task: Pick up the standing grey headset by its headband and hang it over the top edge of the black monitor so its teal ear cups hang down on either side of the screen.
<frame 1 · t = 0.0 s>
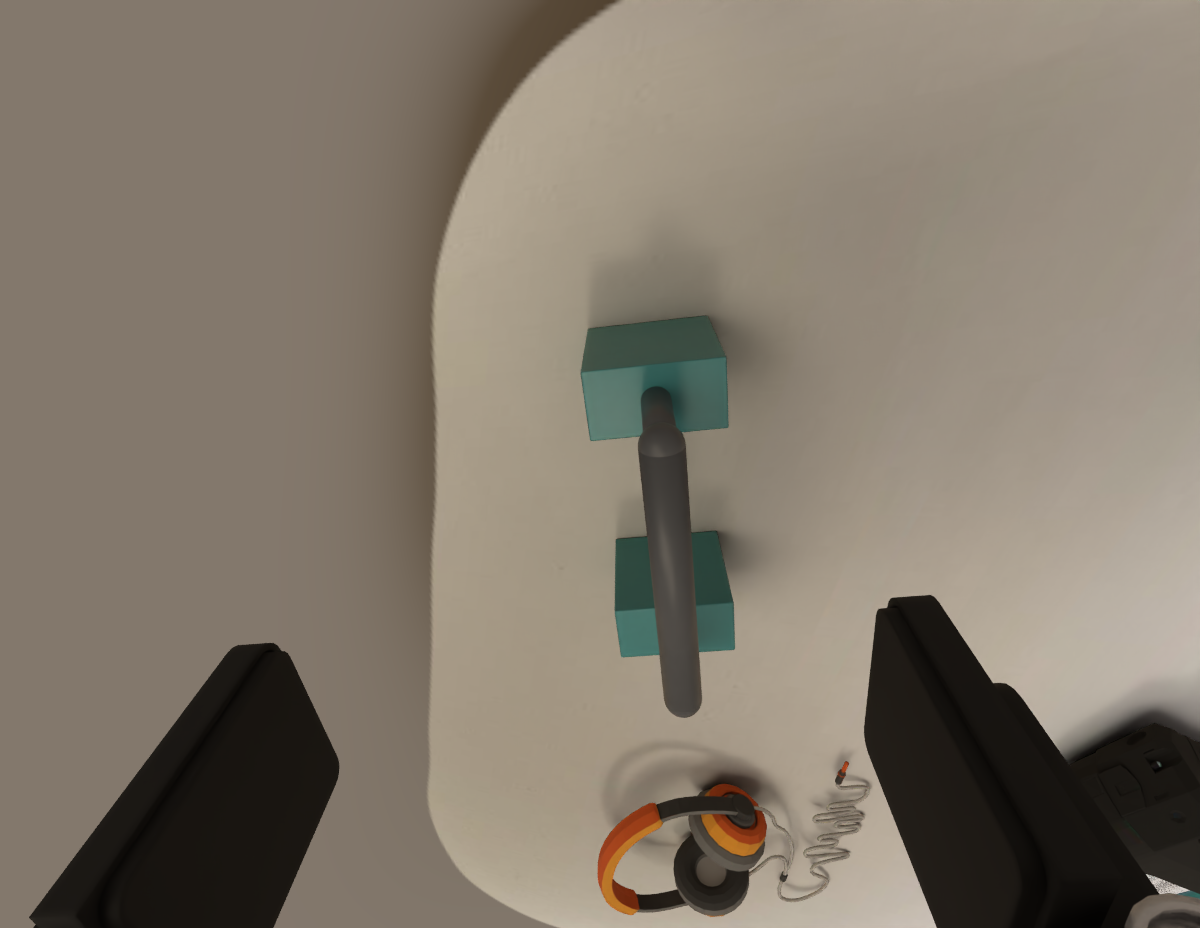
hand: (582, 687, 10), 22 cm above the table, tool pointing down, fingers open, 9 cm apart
virtual reality headset: (1111, 814, 45), on the table
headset: (659, 463, 33), on the table
headphones: (731, 814, 47), on the table
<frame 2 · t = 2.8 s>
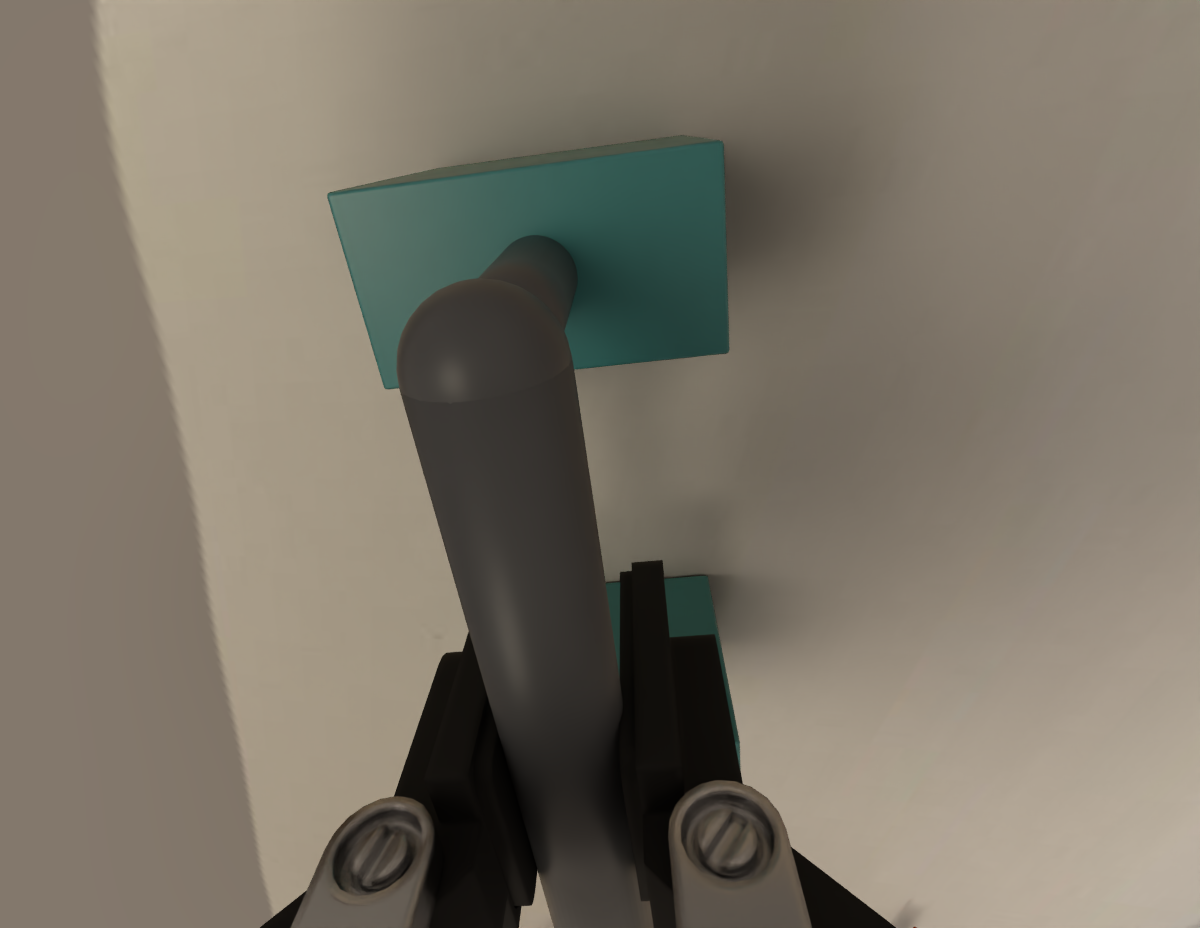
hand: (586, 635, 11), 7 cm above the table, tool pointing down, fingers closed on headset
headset: (598, 452, 17), on the table, touching gripper
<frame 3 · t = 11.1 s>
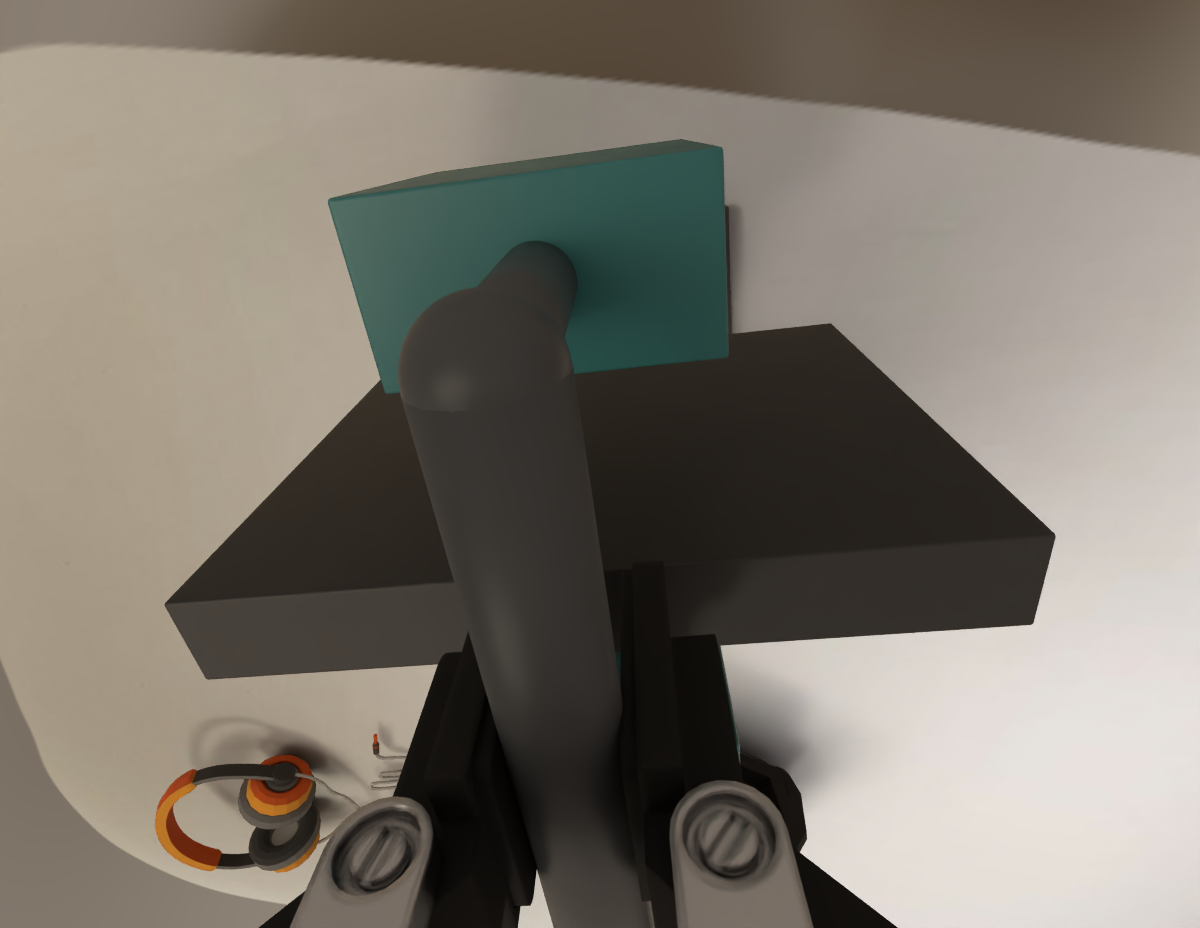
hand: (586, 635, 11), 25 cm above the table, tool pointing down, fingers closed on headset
virtual reality headset: (640, 783, 51), on the table
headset: (598, 454, 17), point 17 cm above the table, touching gripper
headphones: (315, 783, 53), on the table
monitor: (611, 301, 33), on the table
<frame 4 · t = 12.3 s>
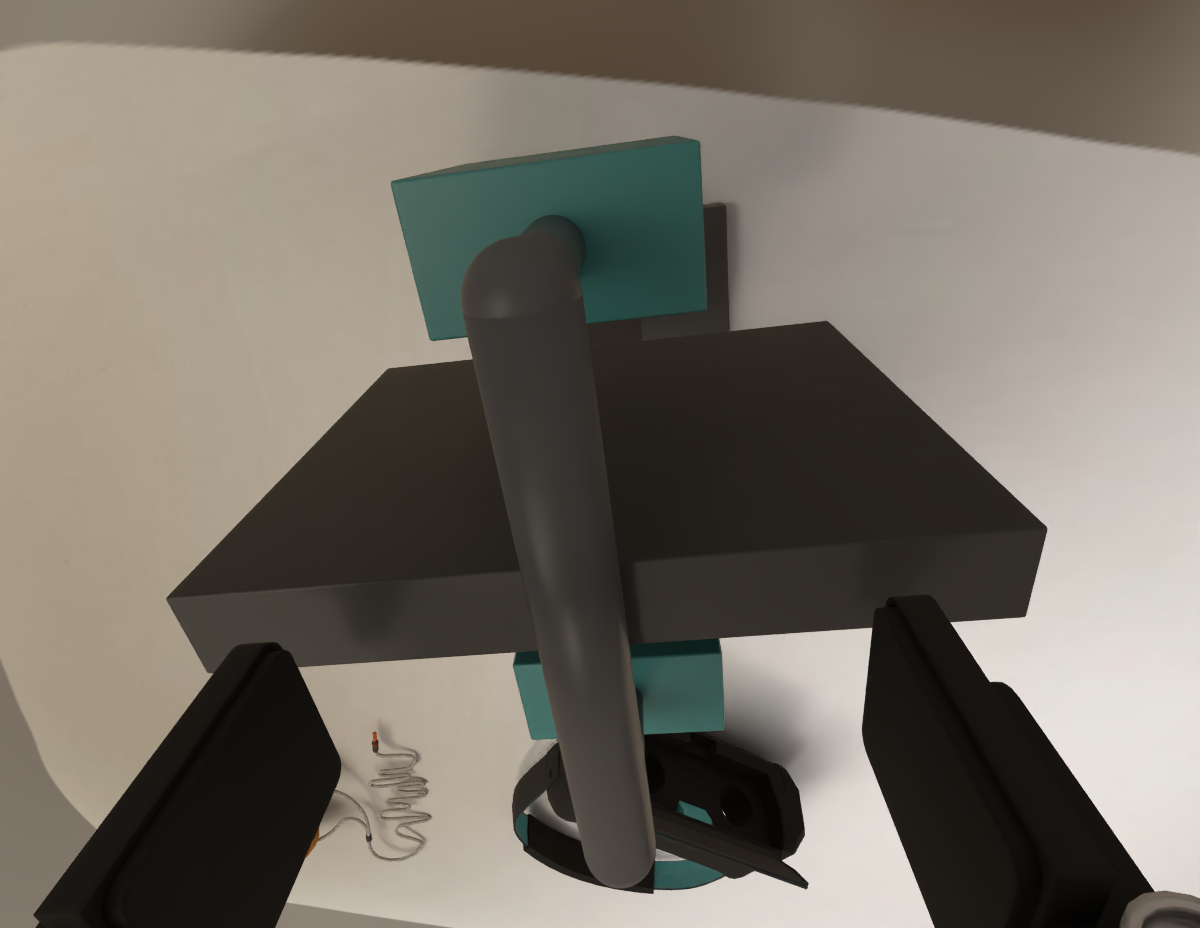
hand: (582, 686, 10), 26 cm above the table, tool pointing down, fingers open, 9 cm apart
virtual reality headset: (639, 780, 51), on the table
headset: (603, 413, 20), point 15 cm above the table, touching monitor
headphones: (314, 781, 53), on the table
monitor: (609, 299, 33), on the table
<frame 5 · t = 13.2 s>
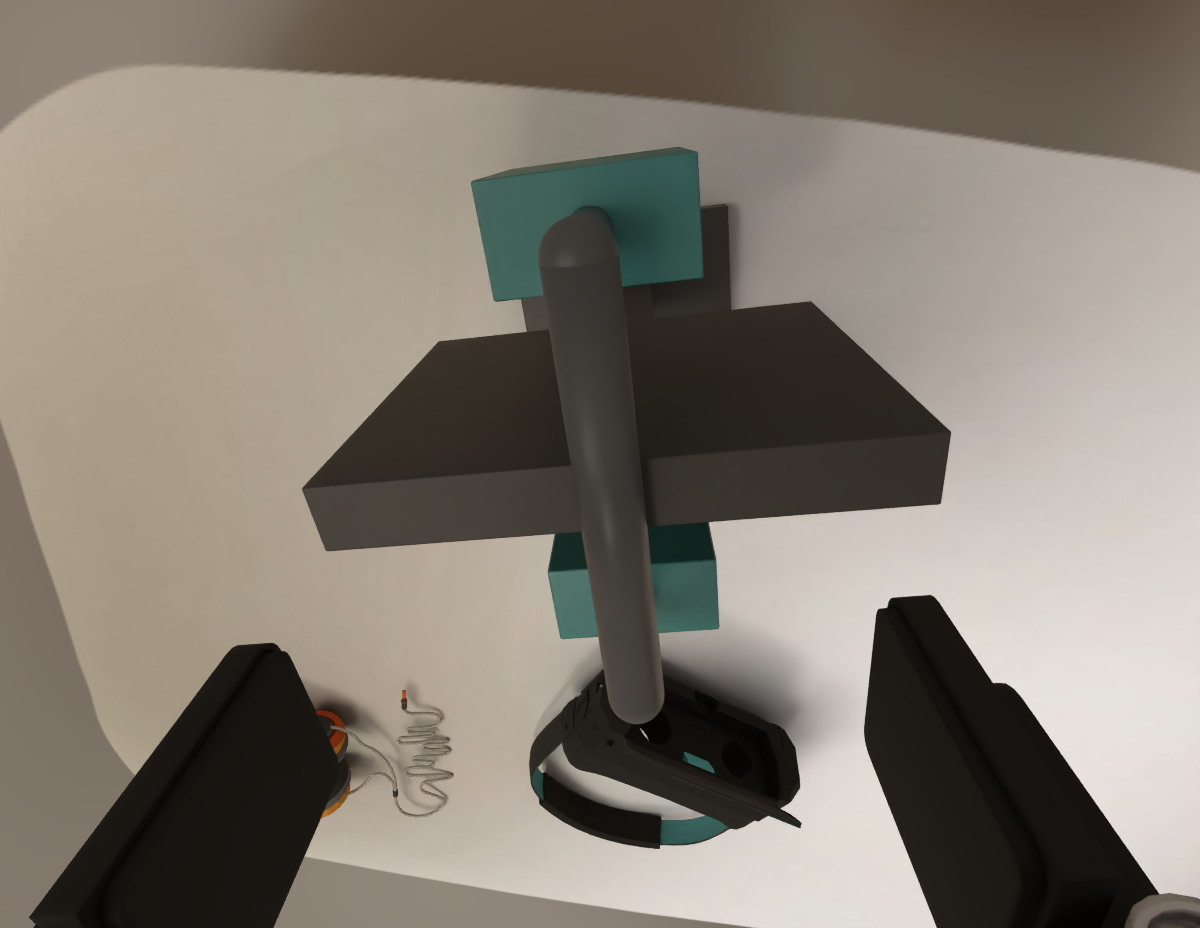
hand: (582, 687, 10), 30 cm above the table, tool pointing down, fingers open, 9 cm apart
virtual reality headset: (647, 741, 55), on the table
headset: (618, 375, 24), point 15 cm above the table, touching monitor
headphones: (346, 739, 57), on the table
monitor: (624, 289, 37), on the table
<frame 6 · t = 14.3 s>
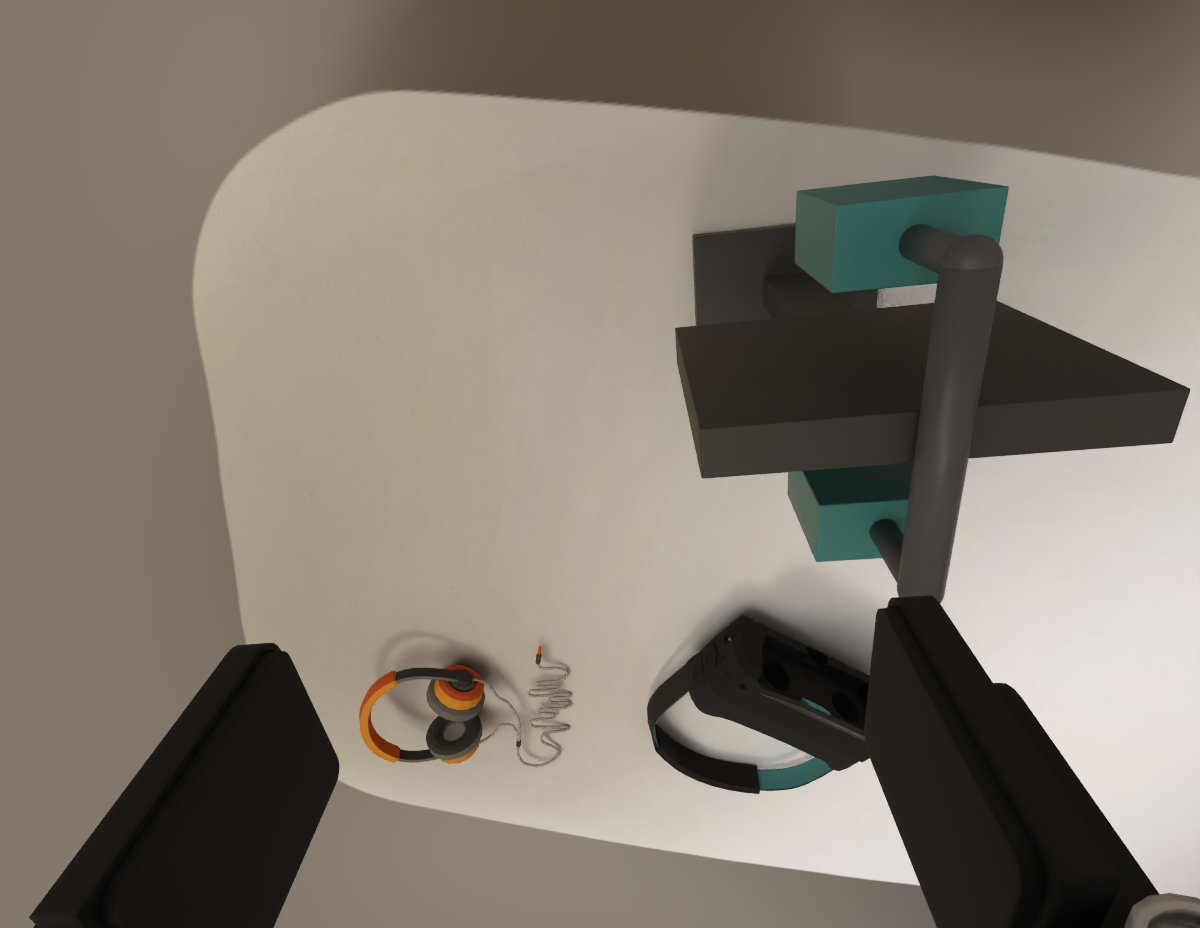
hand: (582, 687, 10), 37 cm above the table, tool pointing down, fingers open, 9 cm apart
virtual reality headset: (752, 695, 61), on the table
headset: (851, 354, 30), point 15 cm above the table, touching monitor
headphones: (476, 693, 63), on the table
monitor: (783, 286, 43), on the table
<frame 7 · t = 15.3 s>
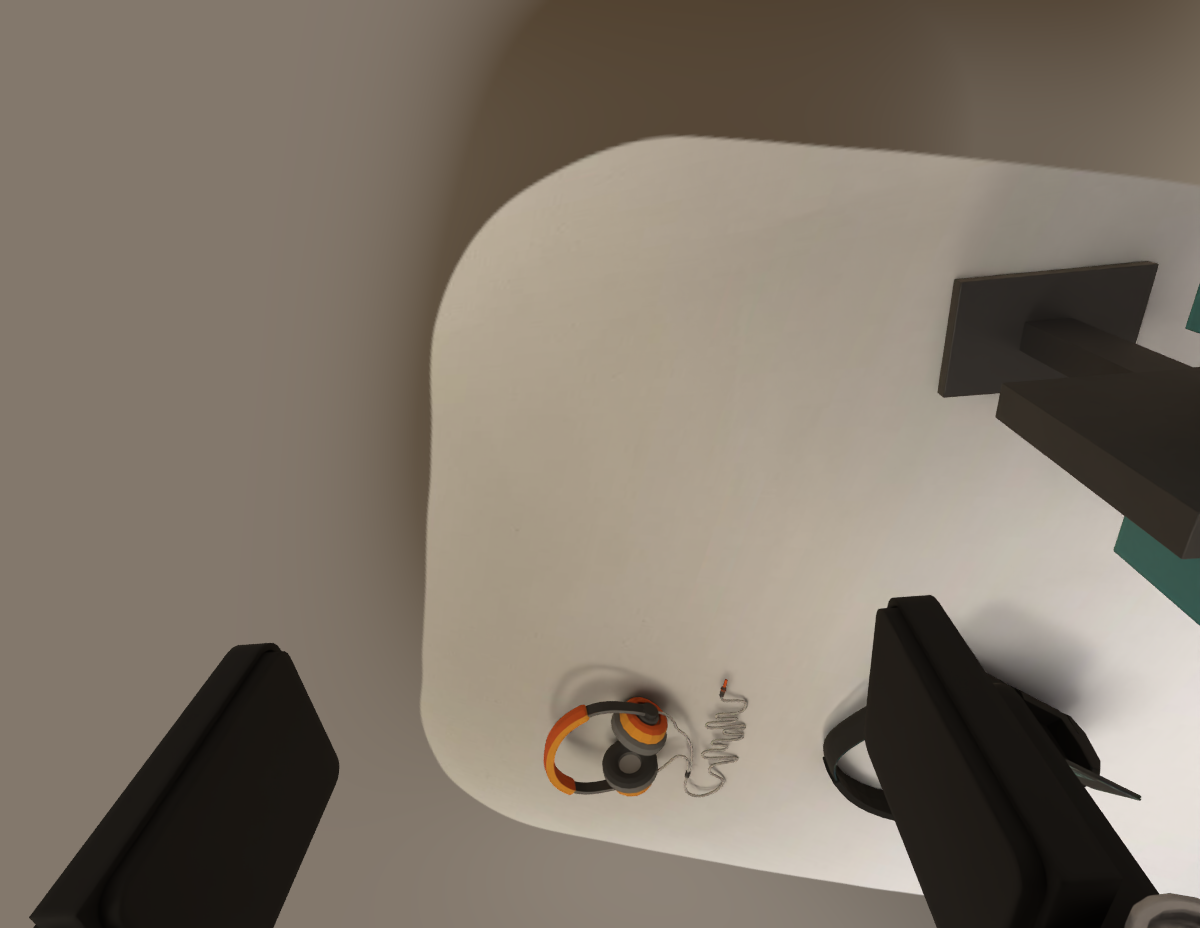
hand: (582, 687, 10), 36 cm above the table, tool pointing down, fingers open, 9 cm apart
virtual reality headset: (928, 727, 61), on the table
headphones: (647, 724, 62), on the table
monitor: (1036, 330, 43), on the table
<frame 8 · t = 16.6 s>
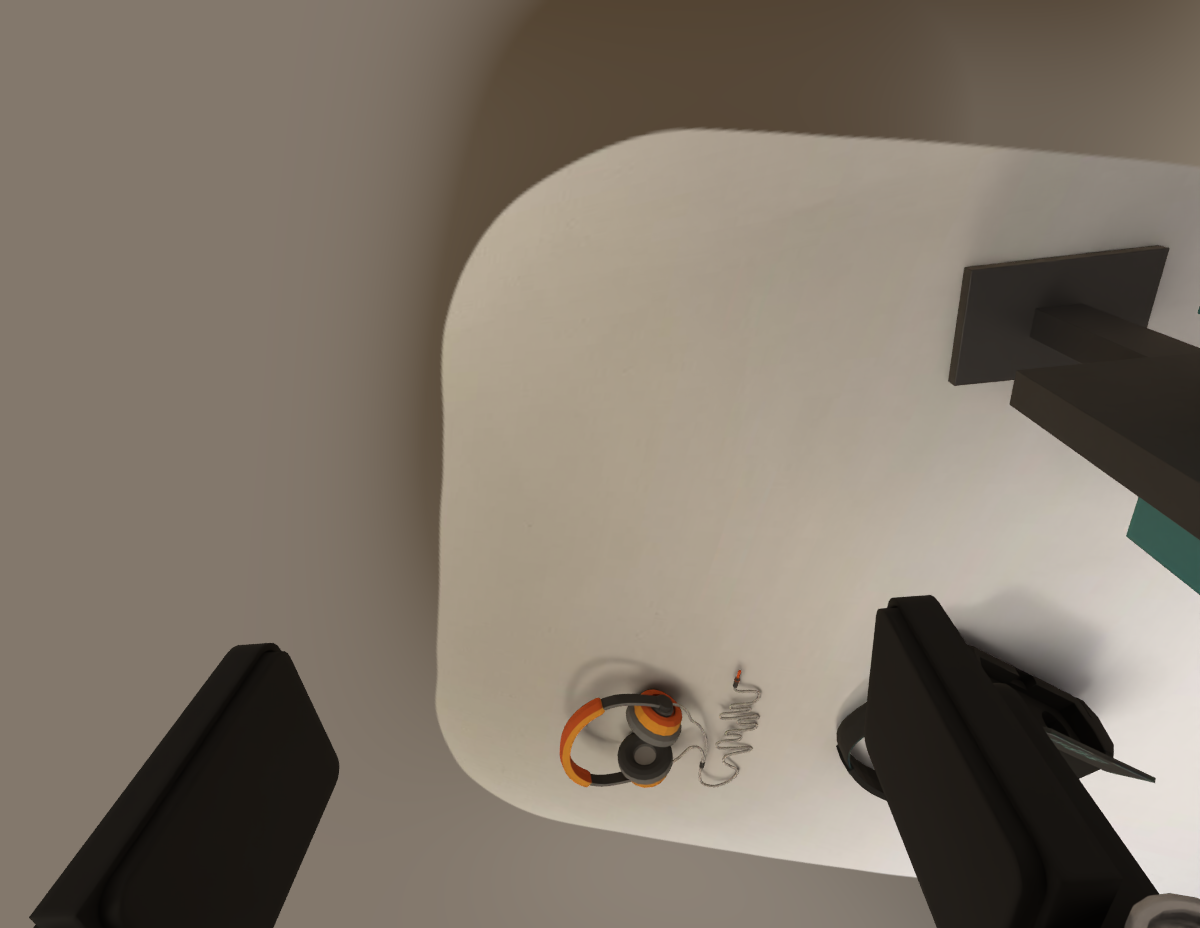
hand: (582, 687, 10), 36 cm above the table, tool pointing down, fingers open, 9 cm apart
virtual reality headset: (941, 714, 61), on the table
headphones: (661, 716, 63), on the table
monitor: (1047, 316, 43), on the table
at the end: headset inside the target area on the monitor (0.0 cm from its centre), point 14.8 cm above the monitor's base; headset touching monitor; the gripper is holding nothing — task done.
